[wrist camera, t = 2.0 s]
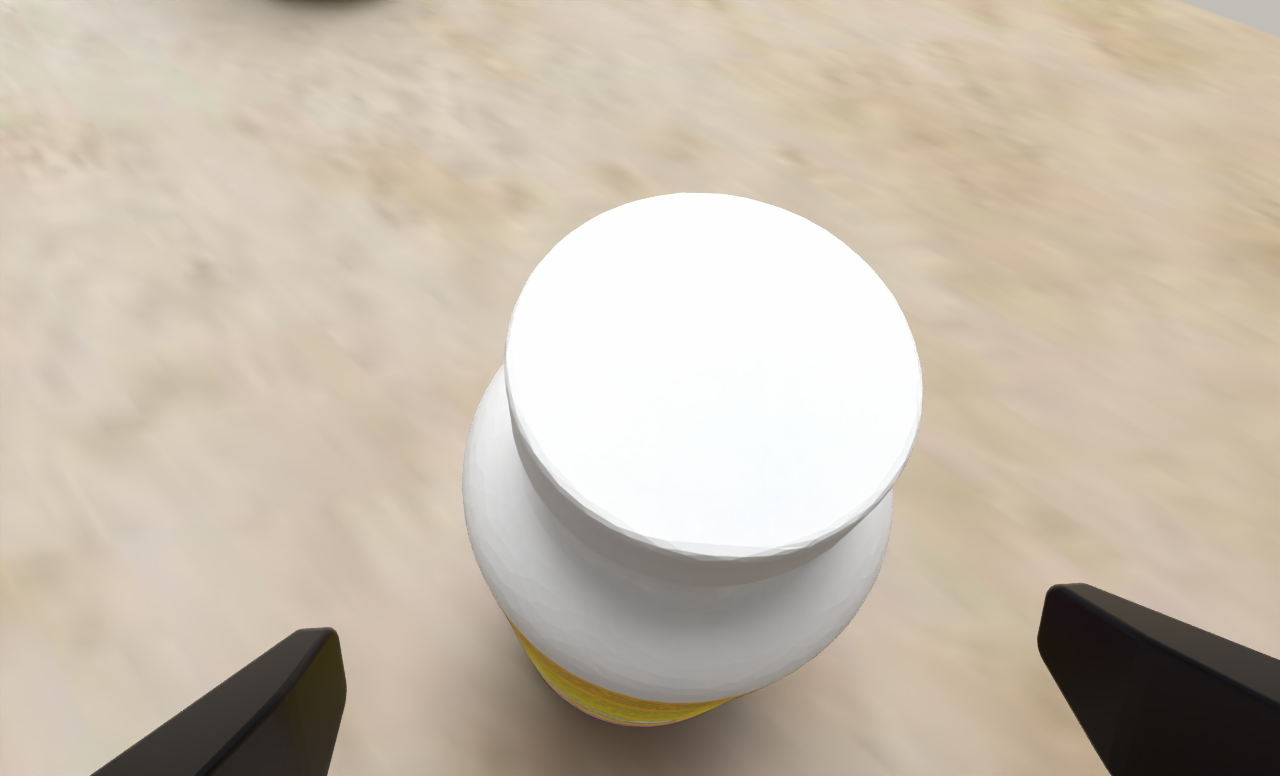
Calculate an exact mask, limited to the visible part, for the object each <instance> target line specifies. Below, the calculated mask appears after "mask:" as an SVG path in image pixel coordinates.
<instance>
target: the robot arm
mask: <svg viewBox="0 0 1280 776" xmlns="http://www.w3.org/2000/svg"><path fill="white" fill-rule="evenodd" d="M1037 643H1038V649H1039V652H1040V655H1041V657H1042V659H1043V661H1044V663H1045V665H1046V666H1047V668H1048V670H1049V672H1050V673H1051V675H1052V677H1053V678H1054V680H1055V682H1056V684H1057V685H1058V687H1059V689H1060V691H1061V692H1062V694H1063V696H1064V697H1065V699H1066V701H1067V703H1068V704H1069V706H1070V708H1071V709H1072V711H1073V713H1074V715H1075V716H1076V718H1077V720H1078V721H1079V723H1080V725H1081V727H1082V728H1083V730H1084V732H1085V733H1086V735H1087V737H1088V739H1089V740H1090V742H1091V744H1092V746H1093V747H1094V749H1095V751H1096V752H1097V754H1098V755H1099V757H1100V759H1101V760H1102V762H1103V764H1104V765H1105V767H1106V768H1107V770H1108V771H1109V773H1110V774H1111V776H1280V660H1278V659H1276V658H1273V657H1271V656H1268V655H1266V654H1263V653H1260V652H1258V651H1255V650H1253V649H1250V648H1248V647H1245V646H1243V645H1240V644H1238V643H1235V642H1233V641H1230V640H1228V639H1225V638H1222V637H1220V636H1217V635H1215V634H1212V633H1210V632H1207V631H1205V630H1202V629H1200V628H1197V627H1195V626H1192V625H1190V624H1187V623H1184V622H1182V621H1179V620H1177V619H1174V618H1172V617H1169V616H1167V615H1164V614H1162V613H1159V612H1157V611H1154V610H1152V609H1149V608H1146V607H1144V606H1141V605H1139V604H1136V603H1134V602H1131V601H1129V600H1126V599H1124V598H1121V597H1119V596H1116V595H1114V594H1111V593H1108V592H1106V591H1103V590H1101V589H1098V588H1096V587H1093V586H1091V585H1088V584H1084V583H1071V584H1056V585H1054V586H1052V587H1050V588H1049V590H1048V591H1047V593H1046V596H1045V601H1044V606H1043V611H1042V616H1041V621H1040V626H1039V631H1038V636H1037ZM346 692H347V686H346V678H345V672H344V666H343V660H342V653H341V647H340V641H339V637H338V634H337V632H336V630H334V629H333V628H331V627H324V628H306V629H300V630H297V631H295V632H294V633H292V634H291V635H289V636H288V637H287V638H285V639H284V640H282V641H281V642H279V643H278V644H277V645H275V646H274V647H272V648H271V649H269V650H268V651H267V652H265V653H264V654H262V655H261V656H260V657H258V658H257V659H255V660H254V661H252V662H251V663H250V664H248V665H247V666H245V667H244V668H242V669H241V670H240V671H238V672H237V673H235V674H234V675H232V676H231V677H230V678H228V679H227V680H225V681H224V682H223V683H221V684H220V685H218V686H217V687H215V688H214V689H213V690H211V691H210V692H208V693H207V694H205V695H204V696H203V697H201V698H200V699H198V700H197V701H195V702H194V703H193V704H191V705H190V706H188V707H187V708H185V709H184V710H183V711H181V712H180V713H178V714H177V715H176V716H174V717H173V718H171V719H170V720H168V721H167V722H166V723H164V724H163V725H161V726H160V727H158V728H157V729H156V730H154V731H153V732H151V733H150V734H148V735H147V736H146V737H144V738H143V739H141V740H140V741H139V742H137V743H136V744H134V745H133V746H131V747H130V748H129V749H127V750H126V751H124V752H123V753H121V754H120V755H119V756H117V757H116V758H114V759H113V760H111V761H110V762H109V763H107V764H106V765H104V766H103V767H101V768H100V769H99V770H97V771H96V772H94V773H93V774H91V775H90V776H327V774H328V770H329V766H330V762H331V758H332V754H333V750H334V746H335V743H336V739H337V735H338V731H339V727H340V723H341V719H342V715H343V711H344V707H345V702H346Z"/></svg>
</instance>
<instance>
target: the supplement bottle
mask: <svg viewBox="0 0 1280 776" xmlns="http://www.w3.org/2000/svg"><path fill="white" fill-rule="evenodd" d="M922 397H923V390H922V371H921V366H920V361H919V357H918V354H917V350H916V345H915V342H914V339H913V336H912V333H911V330H910V328H909V326H908V324H907V321H906V319H905V317H904V314H903V313H902V311H901V309H900V307H899V305H898V304H897V302H896V300H895V298H894V296H893V294H892V293H891V292H890V291H889V289H888V288H887V287H886V286H885V284H884V283H883V282H882V280H881V279H880V278H879V277H878V276H877V275H876V273H875V272H874V271H873V270H872V269H871V267H870V266H869V265H868V264H867V263H866V262H865V261H864V260H862V259H861V258H860V257H859V256H858V255H857V254H856V253H855V252H854V251H852V250H851V249H850V248H849V247H848V246H847V245H846V244H844V243H843V242H842V241H840V240H839V239H837V238H836V237H835V236H833V235H832V234H831V233H829V232H828V231H826V230H825V229H823V228H821V227H819V226H818V225H816V224H814V223H812V222H810V221H809V220H807V219H805V218H803V217H801V216H798V215H796V214H794V213H791V212H789V211H787V210H784V209H782V208H780V207H776V206H773V205H769V204H766V203H763V202H760V201H756V200H752V199H748V198H743V197H737V196H731V195H725V194H705V193H676V194H669V195H662V196H656V197H651V198H646V199H642V200H637V201H634V202H631V203H627V204H624V205H622V206H619V207H617V208H614V209H612V210H609V211H607V212H604V213H602V214H600V215H598V216H596V217H595V218H593V219H591V220H589V221H587V222H586V223H584V224H583V225H581V226H580V227H578V228H577V229H575V230H574V231H572V232H571V233H569V234H568V235H567V236H566V237H565V238H563V239H562V240H561V241H560V242H559V243H558V244H556V245H555V246H554V247H553V249H552V250H551V251H550V252H549V253H548V254H547V256H546V257H545V258H544V259H543V260H542V261H541V262H540V263H539V264H538V265H537V267H536V268H535V270H534V271H533V272H532V274H531V275H530V276H529V278H528V279H527V282H526V284H525V286H524V288H523V290H522V292H521V294H520V296H519V298H518V300H517V302H516V305H515V307H514V310H513V313H512V316H511V319H510V324H509V329H508V334H507V339H506V345H505V354H504V363H503V365H502V366H501V367H500V369H499V370H498V371H497V373H496V374H495V376H494V378H493V379H492V381H491V383H490V384H489V386H488V387H487V389H486V391H485V393H484V395H483V397H482V399H481V401H480V404H479V406H478V408H477V411H476V413H475V416H474V418H473V422H472V425H471V428H470V431H469V435H468V439H467V443H466V448H465V453H464V465H463V477H462V493H463V504H464V514H465V520H466V526H467V531H468V535H469V539H470V543H471V547H472V549H473V552H474V555H475V558H476V560H477V563H478V565H479V567H480V570H481V572H482V574H483V577H484V579H485V581H486V583H487V584H488V586H489V588H490V590H491V592H492V594H493V596H494V598H495V599H496V601H497V602H498V604H499V606H500V607H501V609H502V610H503V612H504V614H505V615H506V617H507V619H508V621H509V622H510V624H511V626H512V628H513V629H514V631H515V633H516V635H517V637H518V638H519V640H520V642H521V644H522V645H523V647H524V649H525V651H526V653H527V654H528V656H529V658H530V659H531V661H532V662H533V664H534V665H535V667H536V669H537V670H538V672H539V673H540V674H541V676H542V677H543V678H544V679H545V681H546V682H547V683H548V684H549V685H550V686H551V688H552V689H553V690H554V691H555V692H557V693H558V694H559V695H560V696H561V697H562V698H563V699H565V700H566V701H567V702H569V703H570V704H572V705H573V706H575V707H576V708H578V709H580V710H581V711H583V712H585V713H587V714H589V715H591V716H593V717H595V718H598V719H601V720H603V721H606V722H609V723H614V724H618V725H623V726H635V727H652V726H661V725H668V724H672V723H676V722H680V721H683V720H686V719H689V718H692V717H695V716H697V715H699V714H701V713H704V712H706V711H708V710H711V709H713V708H715V707H717V706H719V705H722V704H724V703H726V702H728V701H730V700H732V699H735V698H738V697H740V696H743V695H746V694H748V693H751V692H754V691H756V690H758V689H760V688H762V687H764V686H767V685H769V684H771V683H773V682H775V681H777V680H779V679H781V678H783V677H785V676H787V675H789V674H791V673H792V672H794V671H796V670H797V669H799V668H800V667H801V666H803V665H804V664H806V663H807V662H809V661H810V660H811V659H813V658H814V657H815V656H817V655H818V654H819V653H820V652H821V651H822V650H824V649H825V648H826V647H827V646H828V645H829V644H830V643H831V642H832V641H833V640H834V639H835V638H837V637H838V635H839V634H840V633H841V632H842V631H843V630H844V629H845V628H846V626H847V625H848V624H849V623H850V622H851V620H852V619H853V617H854V616H855V615H856V613H857V612H858V610H859V608H860V607H861V605H862V604H863V602H864V601H865V599H866V597H867V595H868V594H869V592H870V590H871V588H872V586H873V584H874V582H875V580H876V578H877V576H878V573H879V571H880V568H881V565H882V562H883V558H884V555H885V552H886V548H887V545H888V541H889V535H890V529H891V523H892V508H893V485H894V484H895V482H896V480H897V479H898V477H899V476H900V474H901V472H902V471H903V469H904V467H905V465H906V463H907V461H908V459H909V457H910V454H911V452H912V450H913V447H914V443H915V440H916V437H917V434H918V431H919V424H920V418H921V408H922Z"/></svg>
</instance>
